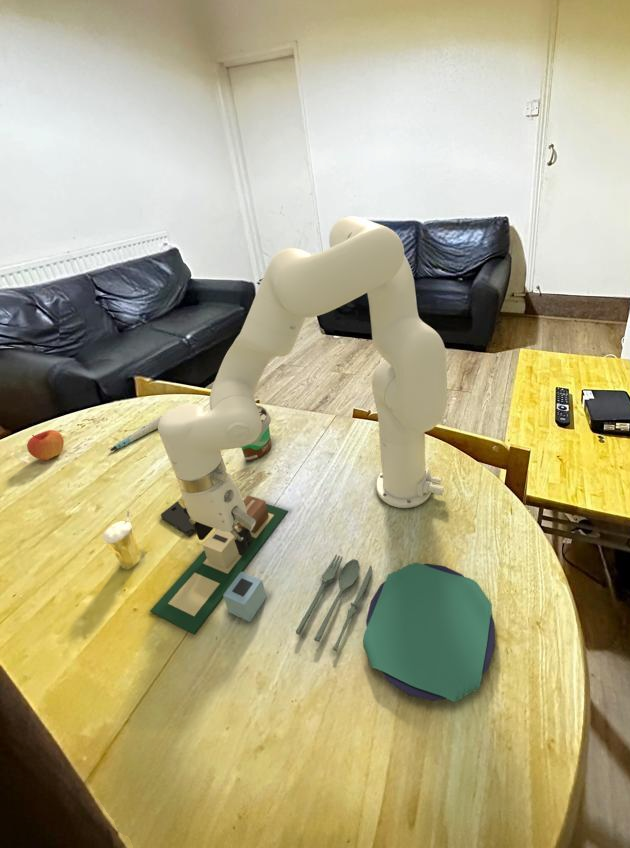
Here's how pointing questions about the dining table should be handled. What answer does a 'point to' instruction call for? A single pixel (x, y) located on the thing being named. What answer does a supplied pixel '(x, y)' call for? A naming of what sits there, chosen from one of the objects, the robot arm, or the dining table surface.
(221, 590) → the word mat
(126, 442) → the pen
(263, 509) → the letter block
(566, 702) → the dining table surface
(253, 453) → the food container
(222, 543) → the letter block
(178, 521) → the black smartphone
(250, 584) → the light blue block
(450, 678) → the cutlery set
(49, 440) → the apple
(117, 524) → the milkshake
